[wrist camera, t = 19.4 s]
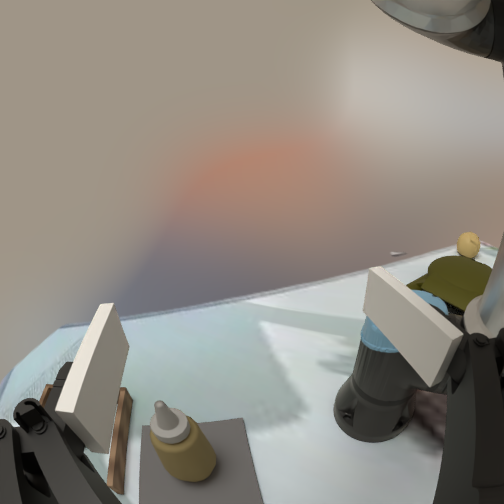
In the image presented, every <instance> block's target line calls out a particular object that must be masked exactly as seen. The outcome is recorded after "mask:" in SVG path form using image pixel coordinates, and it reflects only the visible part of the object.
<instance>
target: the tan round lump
mask: <svg viewBox="0 0 504 504" xmlns="http://www.w3.org/2000/svg"><path fill="white" fill-rule="evenodd" d="M479 249H480V241H479V237H477V235H476V234H474V233H472V232H466V233H463V234H462V235H461V236H460V237H459V239H458V242H457V250H458V252H459V253H460V254H461V255H463V256H465V257H468V258H473V257H474V256H476V255H477V254H478V252H479Z"/></svg>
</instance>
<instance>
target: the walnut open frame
mask: <svg viewBox="0 0 504 504" xmlns="http://www.w3.org/2000/svg"><path fill="white" fill-rule="evenodd" d="M52 388H53V385H51V384H46V386H45V389H44V391H43V393H42V396H41V398H40V401H39V403H40V404H41V405H42V407H43V408H44V407H45V404H46V401H47V399H48V396H49V394H50V391H51V389H52ZM132 401H133V400H132V398H131V396H130V394H129V392H128V391H127V389H126V387H120V390H119V395H118V400H117V404H118V406H117V412H116V417H115V423H114V429H113V436H112V443H111V450H110V458H109V467H108V477H107V486H108V487H109V488H111V489H112V490H113V491H115V492H116V493H117V494H123V495H124V477H125V462H126V451H127V441H128V432H129V423H130V416H131V408H132Z"/></svg>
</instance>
